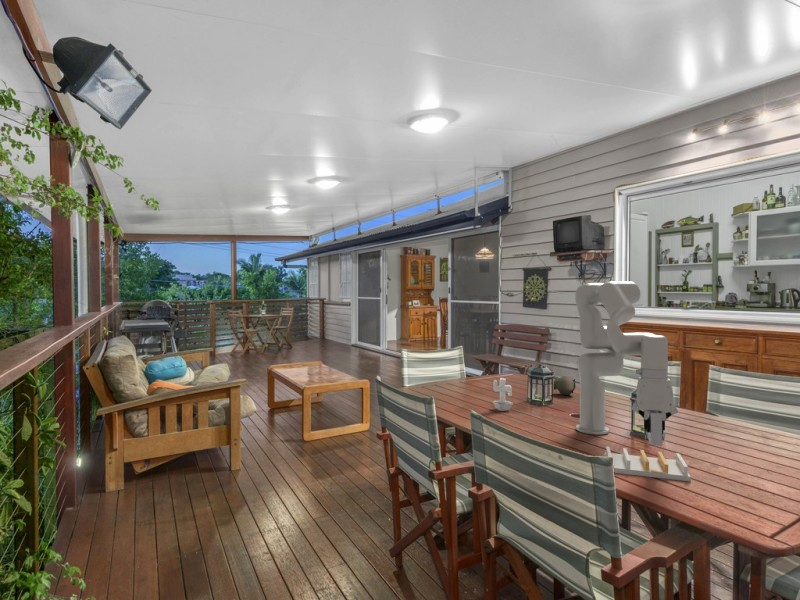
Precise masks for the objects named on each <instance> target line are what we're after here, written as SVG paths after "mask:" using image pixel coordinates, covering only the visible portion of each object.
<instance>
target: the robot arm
mask: <svg viewBox="0 0 800 600" xmlns="http://www.w3.org/2000/svg"><path fill="white" fill-rule="evenodd" d="M574 296H575V304H576V308H577V312H578V315H579V337H580V345H581V346H582V348H584V349H585V350H606V352H585V353H582V354H581V355H579V356H578V358H577V371H578V375H579V376H578V377H579V423H578V424H576V425H575V430H577V431H578V432H580V433H583V434H586V435H587V434H588V435H595V436H596V435H600V436H601V435H607V434H609V433H610V428H609V427H608V426H606V387H605V385H604V383H603V382H602V381H601V377H618V376H620V375H622V373H623V371H624V363H625V362H624V356H640V368H639V369H636V370H635V374H636V375H639V377H638V380H637V383H636V385H637V386H636V397H635V400H634V402H633V404H632V406H631V410H632V411H633V412H635V413H637V414H638V415H640V416H641V417H642V418H643V429H644V430H646V433H647V432H650V420H649V417H648V415H649V411H660V412H661V413H662V435H663V433H664V431H665V430H666V421H667V420H668V419H669V418H670V417H671V416H674V415H676V414H678V413H679V410H678V408H677V407H676V404H674V403H675V402H674V391H673V390H674V389H673V384H672V380H671V379H670V378H669V375H668V374H669V373H668V372H669V370H668V363H669V359H668V357H669V356H668V355H669V354H668V353H669V351H668V350H669V349H668V348H669V347H668V345H669V343H668V341H669V340H668V338H667V337H666V336H665V335H659V334H654V333H652V332H623V331H622V330H621V329H620V326H621V325H624V324H626V323H628V322H629V321H631V320H632V319H633V318H634V316H635V314H636V309H635V307H634V304H636V303H637V302H639V300H640V298H641V290H640V287H639V286H638V285H637V284H636V282H633V281H629V280H628V281H625V280H624V281H622V280H621V281H619V280H617V281H605V282H589V283H583V284H581V285H579V286H577V288H576V291H575V295H574ZM596 305H603V307H604V308H605V310H606V312H607V314H608V316H609V318H608V321H607V323H606V325H603V315H602V312H601V311H600V309H599V307H597V306H596Z"/></svg>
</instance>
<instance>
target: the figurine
mask: <svg viewBox="0 0 800 600" xmlns="http://www.w3.org/2000/svg"><path fill="white" fill-rule="evenodd" d="M506 380H507V379H506V378H504V377H499V383H498V381H497V379H494V380H493V381H492V390H493V391H494V392H495V393H498V392H499V399H498V400H492V403H493V405H494V407H495V409H496V410H498V411H500V412H504V411H505V412H507V411H510V409H511V408H512V406H513V405H514V403H513V402H511V401H509V400H507V399H506V392H507V396H508V397H512V395H513V388H512V386H511V384H506ZM498 384H499V385H498Z"/></svg>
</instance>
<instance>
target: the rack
mask: <svg viewBox="0 0 800 600" xmlns="http://www.w3.org/2000/svg"><path fill="white" fill-rule="evenodd" d="M663 454H664V453H662V451H657V457H651V456H650V457H649V456H647V455H646V453H645V450H644V449H639V455H632V454H629V453H628V449H627V447H626V448H625V447H623V448H622V454H621V453H614V452H613V453H612V451H611V447H610V446H605V452H604V454H603V455H604V456H608V457H613V465H614V472H615V473H614V474H621V475H622V474H624V475H630V476H639V477H647V478H656V479H657V478H659V479H664V480H666V479H667V480H676V481H684V482H691V478H692V477H691V475H690V473H689V466H688V464H687V463H686V462H685V460H684V458H683V457H682V455H681V453H677V452H676V453H675V459H672V458H671V459H670V458H665V456H664V455H663ZM604 456H603V457H604Z"/></svg>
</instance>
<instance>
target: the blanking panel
mask: <svg viewBox="0 0 800 600" xmlns="http://www.w3.org/2000/svg"><path fill="white" fill-rule="evenodd" d="M648 417H649V420H650V432H647V431H646V439H648V442H649V443H650V445H651V446H660V447H662V446H663V434H662V413H661V412H660V411H649V415H648Z"/></svg>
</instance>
